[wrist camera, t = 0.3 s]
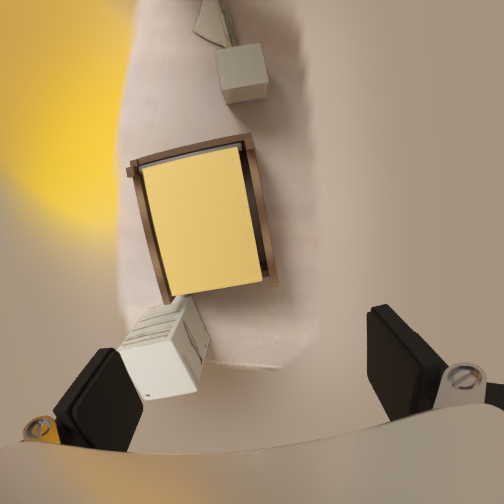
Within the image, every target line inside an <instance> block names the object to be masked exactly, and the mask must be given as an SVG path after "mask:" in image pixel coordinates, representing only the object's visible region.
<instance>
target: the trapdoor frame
mask: <svg viewBox="0 0 504 504" xmlns="http://www.w3.org/2000/svg"><path fill="white" fill-rule="evenodd" d="M236 143H241V146H242V147H243V146H245V148H246V153H247V158H248V163H249V169H250V174H251V179H252V185H253V190H254V195H255V201H256V206H257V211H258V217H259V222H260V228H261V233H262V239H263V244H264V250H265V255H266V261H267V263H264V264H260V268H261V273H262V277H267V276H269V277H270V282H271V287H278V286H279V285H278V279H277V273H276V267H275V261H274V255H273V250H272V244H271V238H270V233H269V227H268V221H267V216H266V210H265V205H264V199H263V194H262V188H261V183H260V178H259V172H258V167H257V162H256V156H255V151H254V143H253V138H252V136H251V133H246V134H239V135H234V136H229V137H224V138H219V139H214V140H210V141H205V142H201V143H196V144H192V145H188V146H183V147H179V148H175V149H171V150H167V151H164V152H160V153H156V154H152V155H149V156H145V157H142V158H138V159H136V160H132V161H130V166H131V167H128V168H126V172H127V177H133V181H134V186H135V191H136V196H137V201H138V206H139V210H140V215H141V219H142V223H143V228H144V232H145V236H146V240H147V244H148V248H149V252H150V256H151V260H152V263H153V267H154V271H155V274H156V278H157V282H158V285H159V289H160V292H161V296H162V299H163V302H164V305H170V304H171V303H172V301H173V300H174V298H175V296H172V294H171V290H170V286H169V283H168V279H167V275H166V272H165V268H164V264H163V260H162V256H161V252H160V248H159V244H158V240H157V236H156V232H155V228H154V223H153V219H152V215H151V210H150V205H149V201H148V196H147V191H146V186H145V181H144V176H143V173H140V172H139V166H142V165H146V164H150V163H153V162H157V161H161V160H165V159H169V158H173V157H177V156H181V155H185V154H189V153H194V152H198V151H202V150H207V149H212V148H216V147H221V146H226V145H231V144H236Z"/></svg>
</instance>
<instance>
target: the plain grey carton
mask: <svg viewBox="0 0 504 504" xmlns="http://www.w3.org/2000/svg"><path fill="white" fill-rule="evenodd" d="M214 53H215V58H216V63H217V69H218V74H219V79H220V84H221V89H222V93H223V96H224V99H225V102H226V105H228V104H234V103H239V102H244V101H250V100H256V99H263V98H266V95H267V90H268V86H269V79H268V74H267V70H266V65H265V61H264V57H263V52H262V48H261V44H260V43H254V44H247V45H241V46H235V47H229V48H224V49H219V50H214Z"/></svg>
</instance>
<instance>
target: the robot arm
mask: <svg viewBox="0 0 504 504" xmlns="http://www.w3.org/2000/svg"><path fill="white" fill-rule="evenodd" d="M367 375H368V379H369V381H370V383H371V385H372V387H373V389H374V391H375V393H376V395H377V396H378V398H379V400H380V402H381V404H382V406H383V408H384V410H385V412H386V414H387V415H388V417H389V419H390V422H387V423H383V424H380V425H376V426H372V427H369V428H366V429H362V430H358V431H354V432H350V433H346V434H342V435H338V436H333V437H329V438H324V439H319V440H314V441H309V442H303V443H298V444H292V445H285V446H279V447H272V448H263V449H255V450H245V451H234V452H221V453H200V454H152V453H132V452H127V450H128V447H129V444H130V442H131V440H132V437H133V435H134V432H135V430H136V427H137V425H138V422H139V420H140V417H141V415H142V412H143V404H142V402H141V399H140V397H139V395H138V393H137V391H136V389H135V387H134V385H133V382H132V380H131V378H130V376H129V373H128V371H127V369H126V367H125V364H124V362H123V360H122V357H121V355H120V353H119V352H118V351H116V350H115V349H114V348H103V349H102V348H101V349H99V350H98V351H97V352H96V354H95V355H94V356H93V357H92V359H91V360H90V361H89V363H88V364H87V365H86V366H85V368H84V369H83V370H82V372H81V373H80V374H79V376H78V377H77V378H76V380H75V381H74V382H73V383H72V385H71V386H70V388H69V389H68V390H67V392H66V393H65V394H64V396H63V397H62V398H61V400H60V401H59V402H58V404H57V405H56V406H55V408H54V409H53V412H54V413H55V415H56V417H57V418H56V419H55V420H54V419H53V418H52V417H50V416H39V417H36V418H34V419H32V420H31V421H30V422H29V423H28V424H27V425H26V426H25V428H24V430H23V438H24V440H23V441H21V442H16V443H12V444H8V445H5V446H3V447H1V448H0V504H504V384H495V383H488V382H486V381H487V377H486V373H485V371H484V370H483V369H482V368H481V367H480V366H478V365H475V364H472V363H457V364H454V365H452V366H450V367H449V366H448V365H447V364H446V363H445V362H444V361H443V360H442V359H441V358H440V356H438V354H437V353H436V352H435V351H434V350H433V349H432V348H431V347H430V346H429V345H428V344H427V343H426V342H425V341H424V340H423V339H422V338H421V336H420V335H419V334H418V333H416V332H414V331H413V330H412V329H411V328H410V327H409V326H408V325H407V324H406V323H405V322H404V321H403V320H402V319H401V318H400V317H399V316H398V315H397V314H396V313H395V312H394V311H393V310H392V308H390V307H389V305H387V304H384V305H380V306H376V307H372V308H371V312H368V313H367Z"/></svg>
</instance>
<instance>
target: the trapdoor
mask: <svg viewBox="0 0 504 504" xmlns="http://www.w3.org/2000/svg"><path fill="white" fill-rule="evenodd" d="M241 150H242V146H241V143H236V144H231V145H226V146H221V147H216V148H212V149H207V150H202V151H198V152H194V153H189V154H185V155H181V156H177V157H173V158H169V159H165V160H161V161H157V162H153V163H150V164H146V165H142V166H139V172H140V173H143V176H144V181H145V186H146V191H147V196H148V201H149V205H150V210H151V215H152V219H153V223H154V228H155V232H156V236H157V240H158V244H159V248H160V252H161V256H162V260H163V264H164V268H165V272H166V275H167V279H168V283H169V286H170V290H171V294H172V296H177V295H183V294H189V293H196V292H202V291H208V290H214V289H220V288H226V287H231V286H237V285H243V284H249V283H254V282H260V281H263V279H262V273H261V268H260V263H259V257H258V252H257V247H256V241H255V236H254V231H253V225H252V220H251V215H250V209H249V204H248V199H247V194H246V188H245V183H244V178H243V173H242V167H241V162H240V157H239V152H238V151H241Z"/></svg>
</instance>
